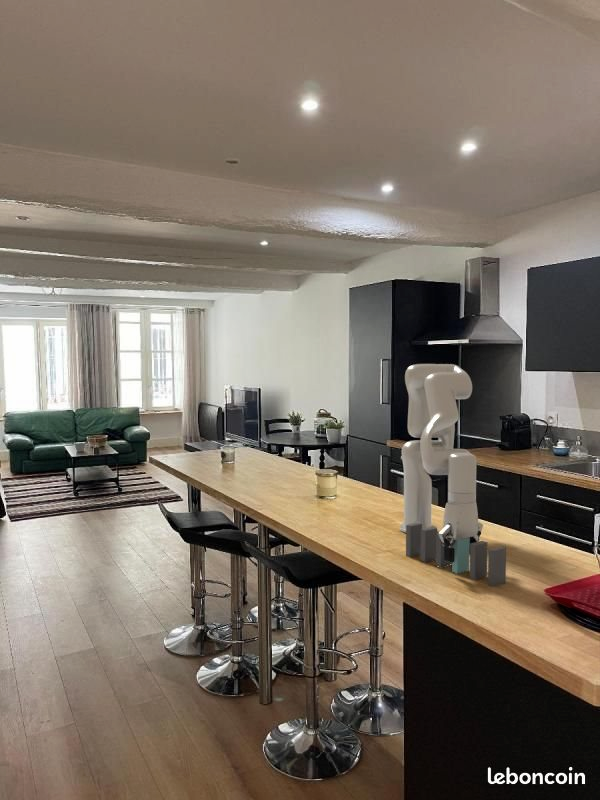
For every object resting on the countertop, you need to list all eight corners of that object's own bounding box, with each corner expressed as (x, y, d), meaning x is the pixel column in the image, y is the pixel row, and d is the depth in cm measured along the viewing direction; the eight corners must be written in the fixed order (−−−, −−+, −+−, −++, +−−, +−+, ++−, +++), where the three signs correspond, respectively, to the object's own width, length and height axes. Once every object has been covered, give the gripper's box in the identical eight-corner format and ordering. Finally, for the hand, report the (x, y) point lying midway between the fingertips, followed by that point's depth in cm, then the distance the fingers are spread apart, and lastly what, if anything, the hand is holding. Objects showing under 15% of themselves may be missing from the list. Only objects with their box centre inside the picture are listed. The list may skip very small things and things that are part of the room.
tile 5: (469, 578, 164) (470, 543, 164) (481, 574, 167) (482, 540, 167) (474, 580, 163) (475, 545, 163) (486, 576, 166) (487, 542, 165)
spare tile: (452, 572, 169) (452, 538, 169) (464, 568, 172) (464, 535, 172) (457, 574, 168) (457, 540, 167) (469, 570, 171) (469, 537, 170)
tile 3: (435, 566, 174) (436, 533, 174) (447, 563, 177) (448, 531, 177) (440, 568, 173) (441, 535, 172) (452, 564, 176) (453, 532, 175)
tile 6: (487, 584, 160) (488, 549, 159) (499, 580, 162) (500, 545, 162) (493, 586, 158) (494, 550, 158) (505, 582, 161) (506, 547, 160)
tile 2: (420, 561, 179) (420, 529, 179) (432, 558, 182) (432, 526, 182) (425, 562, 178) (425, 530, 177) (436, 559, 181) (437, 528, 180)
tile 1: (405, 555, 184) (406, 524, 184) (417, 553, 187) (417, 522, 186) (410, 557, 183) (410, 526, 182) (421, 554, 185) (422, 523, 185)
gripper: (471, 491, 177) (470, 549, 178) (430, 498, 167) (429, 560, 168) (492, 495, 171) (491, 555, 172) (451, 503, 161) (450, 567, 162)
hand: (460, 557), depth 170 cm, fingers open, 9 cm apart
